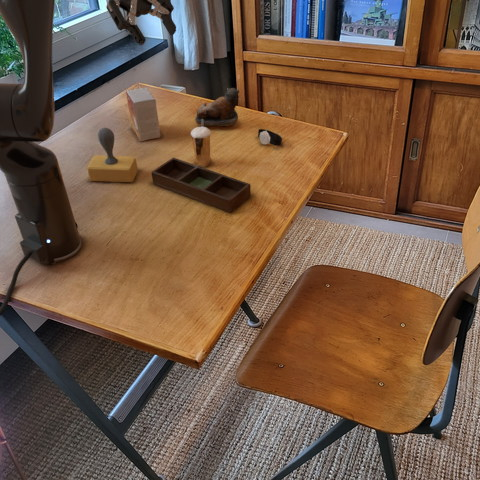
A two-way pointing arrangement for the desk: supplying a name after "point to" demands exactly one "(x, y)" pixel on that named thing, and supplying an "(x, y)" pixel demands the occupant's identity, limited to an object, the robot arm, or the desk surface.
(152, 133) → the small box
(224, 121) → the brown animal figure
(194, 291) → the desk surface
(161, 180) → the tray
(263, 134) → the watch
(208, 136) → the milkshake
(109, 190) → the desk surface
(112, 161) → the rubber stamp
